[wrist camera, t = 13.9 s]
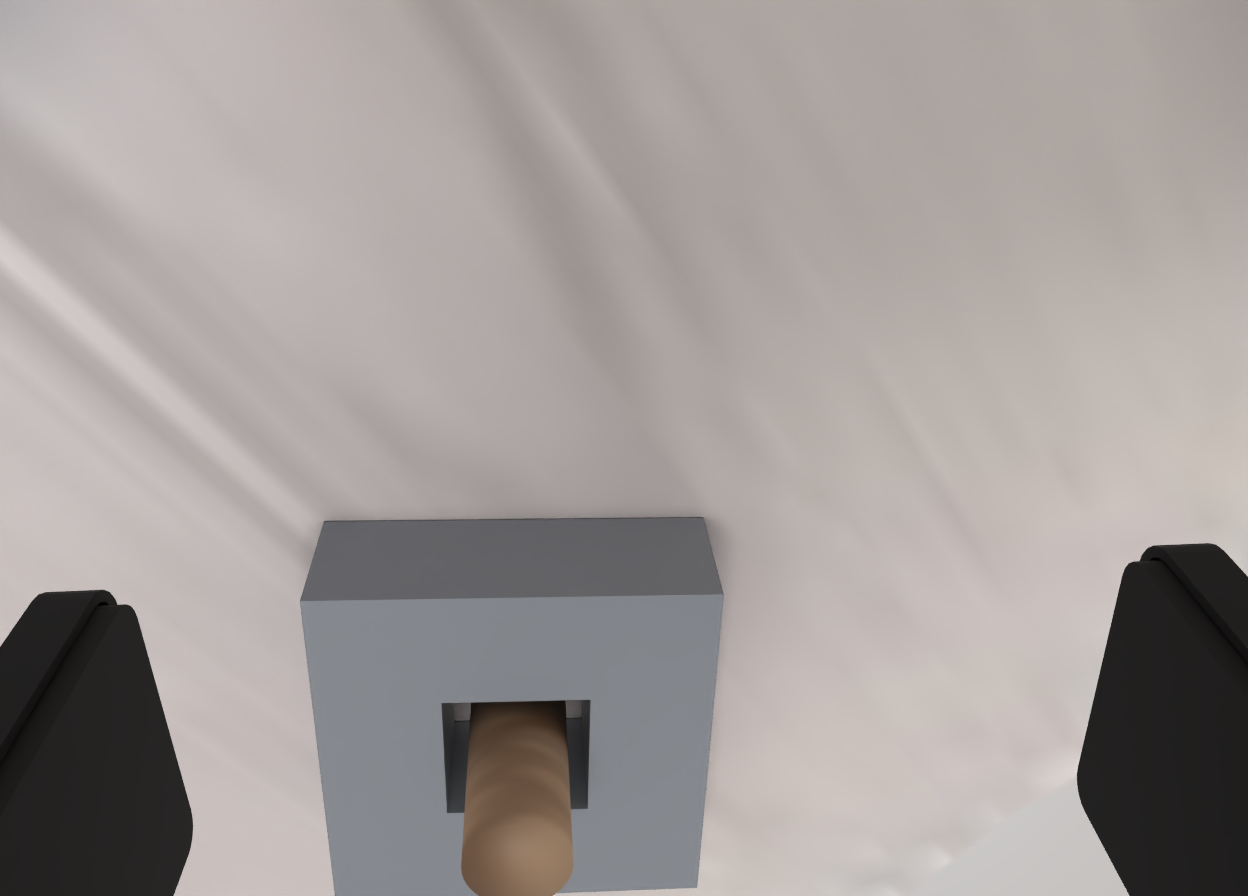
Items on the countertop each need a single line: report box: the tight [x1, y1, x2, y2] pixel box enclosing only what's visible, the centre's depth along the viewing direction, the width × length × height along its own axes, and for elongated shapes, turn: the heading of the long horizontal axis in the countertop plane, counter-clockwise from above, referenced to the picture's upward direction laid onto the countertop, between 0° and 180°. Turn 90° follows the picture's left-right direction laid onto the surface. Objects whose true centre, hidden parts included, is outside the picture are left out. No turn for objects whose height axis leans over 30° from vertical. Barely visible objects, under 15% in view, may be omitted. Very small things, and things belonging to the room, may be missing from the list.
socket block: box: [300, 518, 724, 896], centre depth 43 cm, size 14×14×5 cm
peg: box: [461, 700, 573, 896], centre depth 41 cm, size 4×4×10 cm
